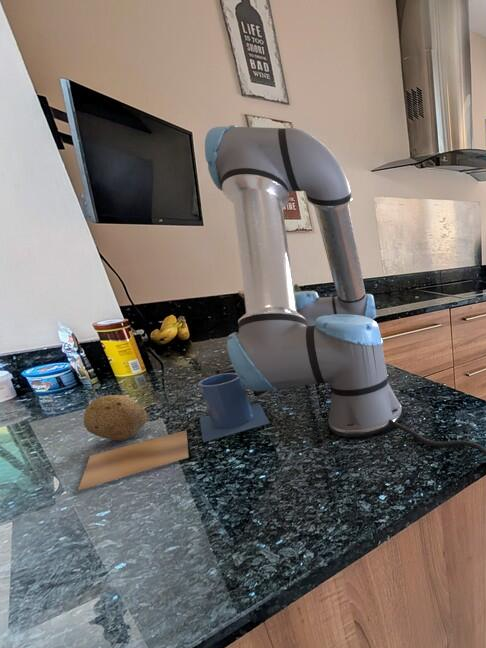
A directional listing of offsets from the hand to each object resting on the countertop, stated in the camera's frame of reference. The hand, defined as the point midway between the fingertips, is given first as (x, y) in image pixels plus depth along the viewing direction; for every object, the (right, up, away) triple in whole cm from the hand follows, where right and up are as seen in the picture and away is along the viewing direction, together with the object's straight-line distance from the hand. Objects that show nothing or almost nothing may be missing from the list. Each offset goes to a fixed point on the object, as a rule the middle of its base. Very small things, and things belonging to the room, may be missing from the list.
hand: (226, 389), depth 86 cm
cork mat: (-9, -13, -10) cm, 19 cm away
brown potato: (-19, -11, -3) cm, 22 cm away
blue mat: (0, -7, +2) cm, 8 cm away
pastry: (-35, -5, +10) cm, 36 cm away
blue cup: (0, -7, +2) cm, 7 cm away
